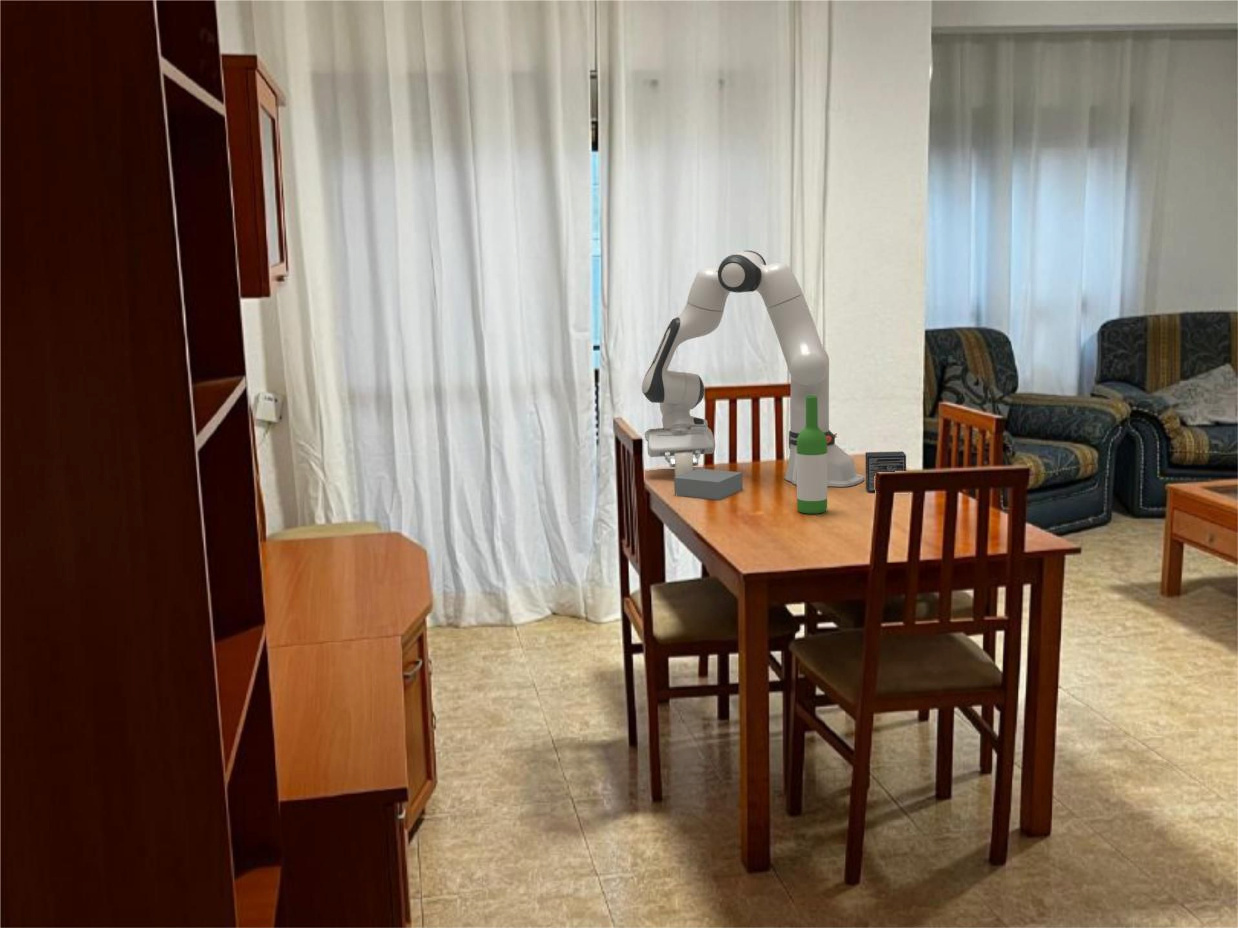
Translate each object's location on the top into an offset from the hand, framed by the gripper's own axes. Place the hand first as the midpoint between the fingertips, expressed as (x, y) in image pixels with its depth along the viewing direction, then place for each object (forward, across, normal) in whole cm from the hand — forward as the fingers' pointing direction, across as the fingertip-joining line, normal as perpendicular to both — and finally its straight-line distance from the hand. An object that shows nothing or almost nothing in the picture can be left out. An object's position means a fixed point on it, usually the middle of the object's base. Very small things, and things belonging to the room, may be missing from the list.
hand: (684, 465), depth 347 cm
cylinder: (+3, 0, +4) cm, 4 cm away
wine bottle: (+36, +25, -30) cm, 53 cm away
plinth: (+16, +4, -10) cm, 19 cm away
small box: (+23, +52, -17) cm, 59 cm away
